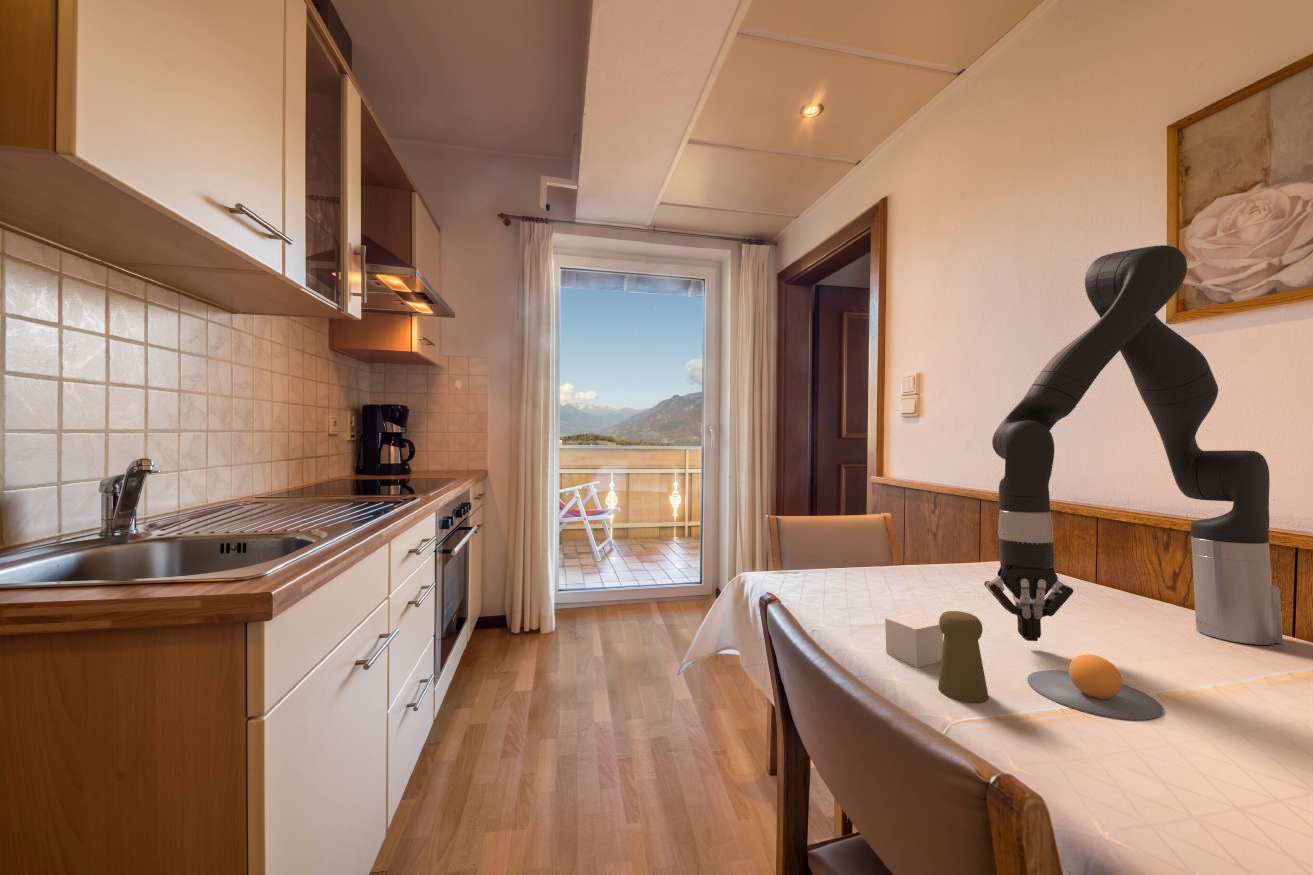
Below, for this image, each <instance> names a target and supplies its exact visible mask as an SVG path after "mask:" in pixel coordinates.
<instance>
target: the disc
mask: <svg viewBox="0 0 1313 875" xmlns="http://www.w3.org/2000/svg"><path fill="white" fill-rule="evenodd" d="M1027 684H1028V686H1029V687H1030V688H1031V689H1033V690H1034V691H1035V692H1036V693H1038V694H1039V695H1041V696H1043V697H1045V698H1046V699H1047V700H1050V701H1053V702H1055V703H1057V704H1059V705H1062V706H1065V707H1068V708H1071V709H1074V710H1076V711H1079V712H1084V713H1086V714H1091V715H1095V716H1100V717H1103V718H1104V717H1105V718H1108V719H1109V718H1111V719H1117V720H1125V721H1150V720H1155V719H1158V718H1160V717H1161V716H1162V715H1163V714H1164V709H1163V706H1162V704H1161V702H1159V701H1158V700H1157V699H1155V698H1154V697H1152V696H1151V695H1149V694H1147V693H1145V692H1144V691H1141V690H1139V689H1137V688H1135V687H1132V686H1130V685H1128V684H1125V683H1123V684H1122V689H1121V691H1120V692H1119V693H1118V694H1117V695H1116V696H1114V697H1112V698H1109V699H1098V698H1094V697H1091V696H1088V695H1086V694H1085V693H1083V692H1082V691H1080V690H1079V689H1078V688H1077V687H1076V686H1075V685H1074V683H1073V682H1072V680H1071V678H1070V675H1069V670H1063V669H1062V670H1061V669H1057V670H1056V669H1045V670H1038V671H1034V672H1031V673H1030V674H1028V676H1027Z"/></svg>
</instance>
